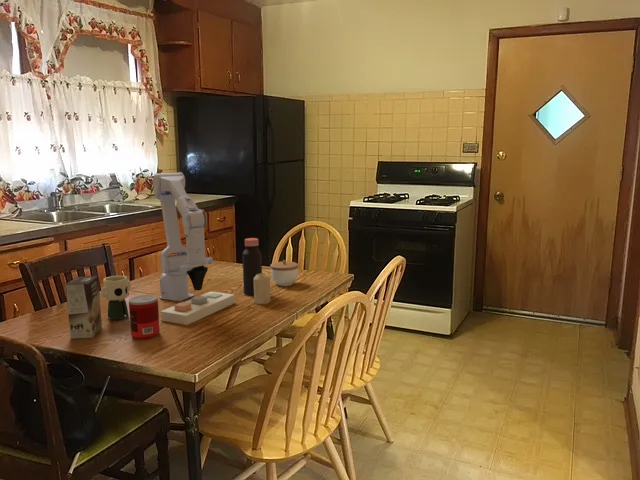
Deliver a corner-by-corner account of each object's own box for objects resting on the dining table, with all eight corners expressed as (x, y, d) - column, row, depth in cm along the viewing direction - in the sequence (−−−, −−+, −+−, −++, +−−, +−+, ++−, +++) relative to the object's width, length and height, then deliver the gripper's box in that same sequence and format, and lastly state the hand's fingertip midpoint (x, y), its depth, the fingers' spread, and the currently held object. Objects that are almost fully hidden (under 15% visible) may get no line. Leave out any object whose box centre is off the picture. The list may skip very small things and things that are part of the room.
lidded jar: (304, 282, 217) (303, 259, 215) (287, 289, 208) (287, 264, 206) (281, 279, 222) (281, 256, 220) (265, 285, 213) (264, 261, 212)
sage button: (207, 303, 188) (206, 295, 188) (213, 301, 191) (213, 293, 191) (215, 305, 187) (215, 297, 186) (222, 302, 190) (221, 294, 189)
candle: (267, 304, 188) (267, 276, 187) (252, 304, 190) (251, 275, 188) (272, 300, 194) (271, 272, 192) (257, 299, 195) (256, 271, 193)
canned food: (165, 332, 163) (163, 295, 161) (148, 341, 156) (145, 303, 153) (143, 329, 165) (140, 293, 163) (125, 338, 158) (122, 301, 156)
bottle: (240, 294, 201) (238, 240, 197) (249, 290, 207) (247, 237, 203) (256, 296, 198) (255, 241, 195) (265, 291, 204) (264, 238, 201)
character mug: (112, 325, 169) (108, 283, 167) (96, 321, 173) (92, 280, 171) (139, 315, 179) (137, 275, 176) (124, 311, 182) (121, 273, 180)
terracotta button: (174, 313, 174) (174, 304, 173) (182, 310, 177) (182, 301, 176) (184, 315, 172) (183, 306, 172) (191, 311, 175) (191, 303, 175)
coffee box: (93, 338, 158) (88, 283, 155) (69, 339, 158) (64, 284, 155) (102, 327, 167) (98, 275, 164) (80, 328, 167) (76, 276, 164)
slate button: (191, 306, 181) (191, 298, 180) (198, 303, 184) (198, 295, 184) (200, 308, 179) (200, 299, 179) (207, 305, 182) (207, 296, 182)
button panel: (161, 320, 173) (160, 311, 173) (211, 299, 195) (210, 291, 195) (186, 325, 169) (186, 315, 168) (234, 303, 191) (234, 294, 190)
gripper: (191, 253, 169) (193, 296, 172) (219, 245, 182) (221, 285, 185) (173, 251, 172) (175, 294, 175) (202, 243, 185) (204, 283, 188)
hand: (197, 289), depth 180 cm, fingers closed
